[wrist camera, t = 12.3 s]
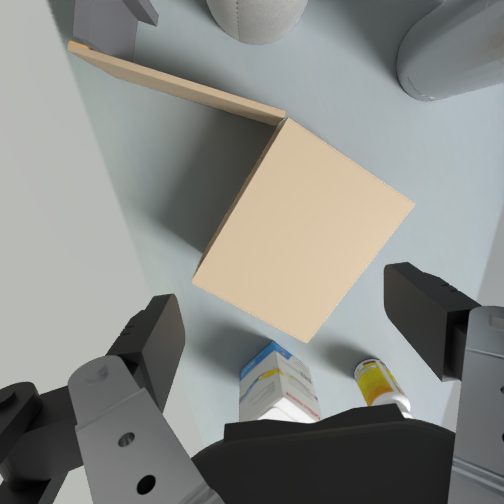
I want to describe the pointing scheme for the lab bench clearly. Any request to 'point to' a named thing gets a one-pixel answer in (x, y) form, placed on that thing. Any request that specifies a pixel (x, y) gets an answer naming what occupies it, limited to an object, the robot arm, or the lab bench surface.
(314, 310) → the carton
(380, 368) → the supplement bottle
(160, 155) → the lab bench surface
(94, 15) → the carton flap
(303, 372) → the ink box
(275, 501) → the robot arm
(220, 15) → the toilet paper roll
